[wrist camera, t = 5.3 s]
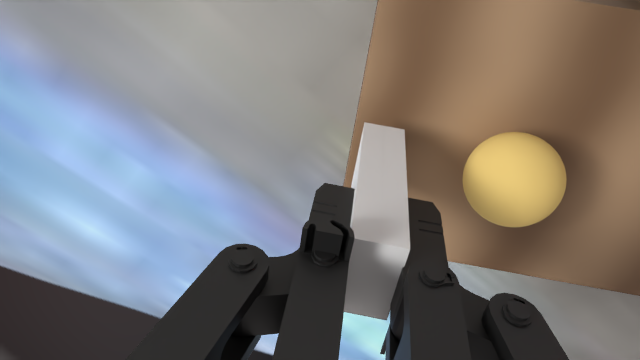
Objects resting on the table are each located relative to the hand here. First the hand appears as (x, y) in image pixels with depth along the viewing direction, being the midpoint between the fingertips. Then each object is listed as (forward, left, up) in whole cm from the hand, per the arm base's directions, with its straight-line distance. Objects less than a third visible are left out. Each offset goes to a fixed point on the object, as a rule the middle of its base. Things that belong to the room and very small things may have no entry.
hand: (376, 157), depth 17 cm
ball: (0, +5, 0) cm, 5 cm away
